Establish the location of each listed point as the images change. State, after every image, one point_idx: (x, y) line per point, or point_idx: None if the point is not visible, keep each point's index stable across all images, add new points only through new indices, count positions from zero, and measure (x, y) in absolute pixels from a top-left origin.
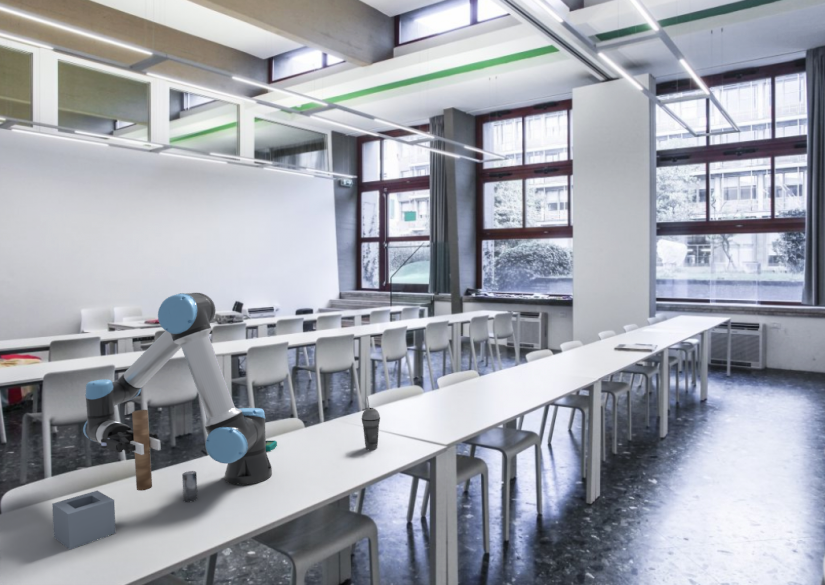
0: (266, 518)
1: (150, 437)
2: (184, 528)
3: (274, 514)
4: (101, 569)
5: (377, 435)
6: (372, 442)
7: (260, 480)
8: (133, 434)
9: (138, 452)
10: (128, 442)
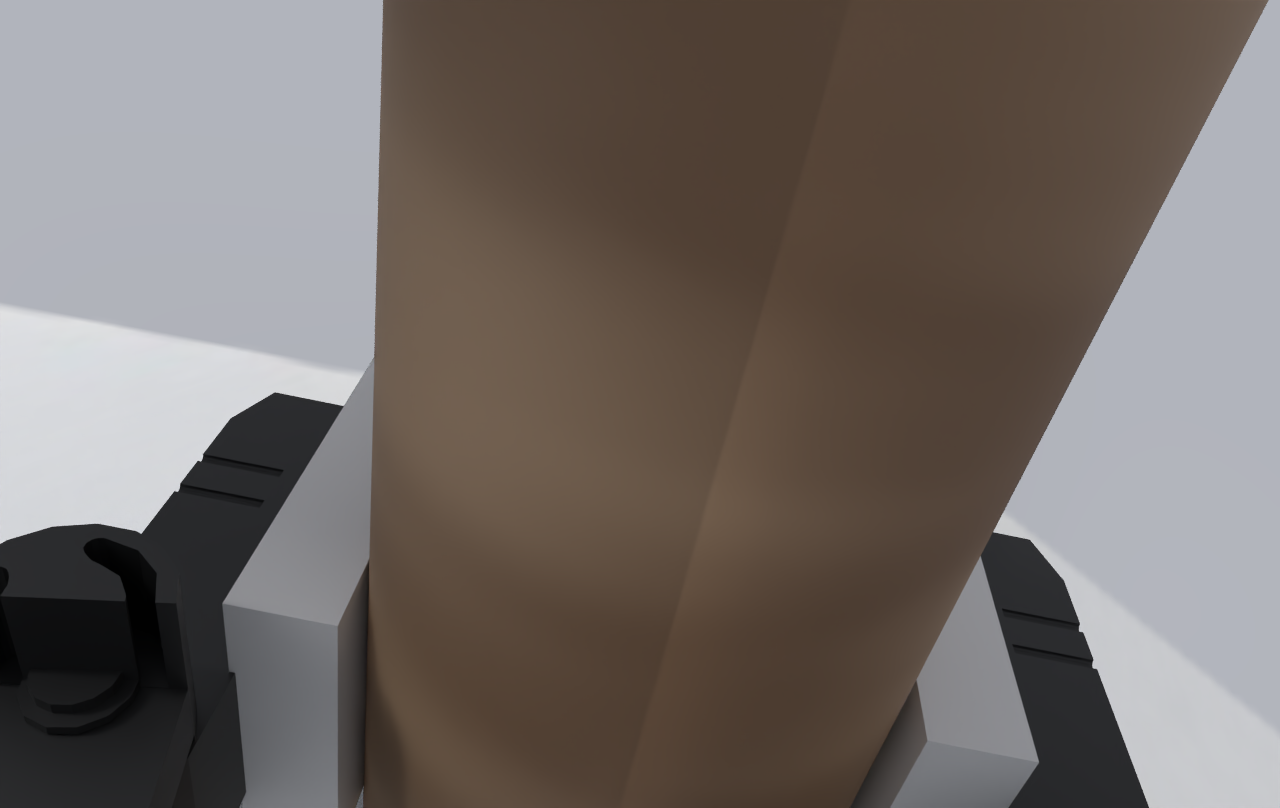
0: (199, 373)
1: (324, 494)
2: None
3: (130, 365)
4: (1110, 671)
5: None
6: None
7: None
8: (1008, 500)
9: None
10: (1098, 806)
